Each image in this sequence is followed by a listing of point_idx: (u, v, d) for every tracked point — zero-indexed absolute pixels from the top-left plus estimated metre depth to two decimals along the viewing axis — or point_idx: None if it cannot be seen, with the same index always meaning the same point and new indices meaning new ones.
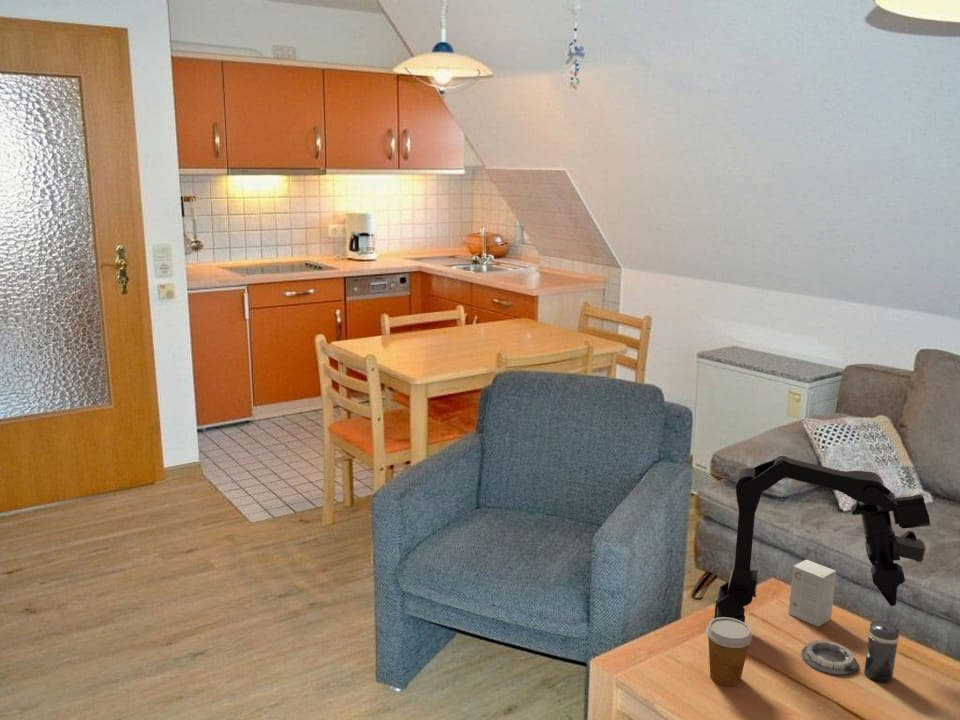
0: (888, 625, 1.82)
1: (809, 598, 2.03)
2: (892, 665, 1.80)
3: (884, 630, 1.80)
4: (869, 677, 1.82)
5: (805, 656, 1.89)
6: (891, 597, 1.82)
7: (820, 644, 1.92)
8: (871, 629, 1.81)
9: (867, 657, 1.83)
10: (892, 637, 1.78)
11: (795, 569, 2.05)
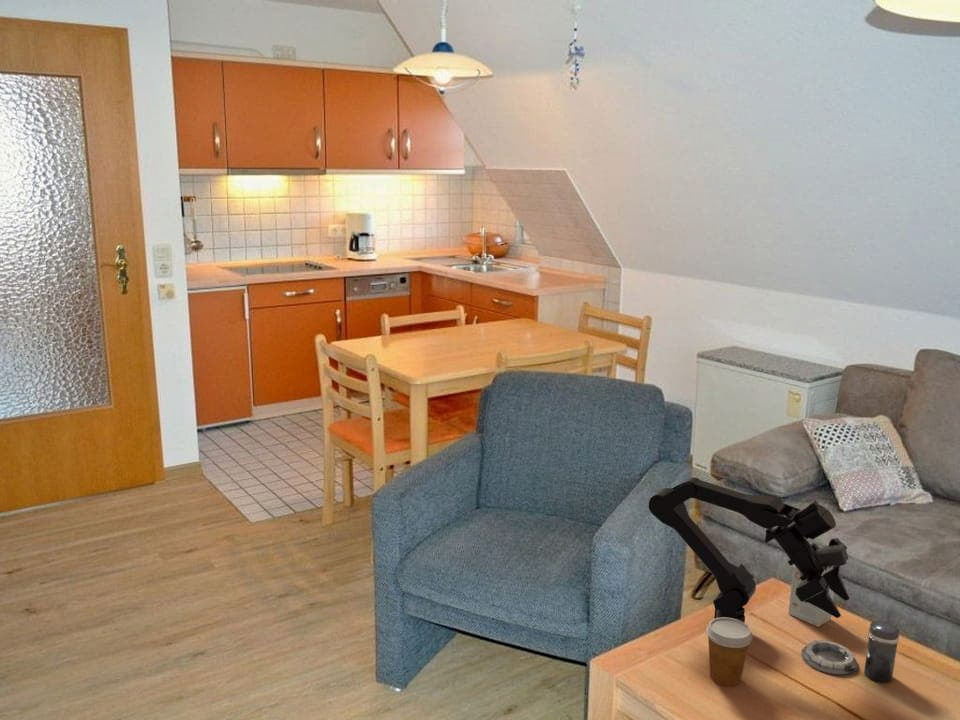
0: (888, 625, 1.82)
1: None
2: (892, 665, 1.80)
3: (884, 630, 1.80)
4: (869, 677, 1.82)
5: (805, 656, 1.89)
6: (831, 609, 1.81)
7: (820, 644, 1.92)
8: (871, 629, 1.81)
9: (867, 657, 1.83)
10: (892, 637, 1.78)
11: (795, 569, 2.05)
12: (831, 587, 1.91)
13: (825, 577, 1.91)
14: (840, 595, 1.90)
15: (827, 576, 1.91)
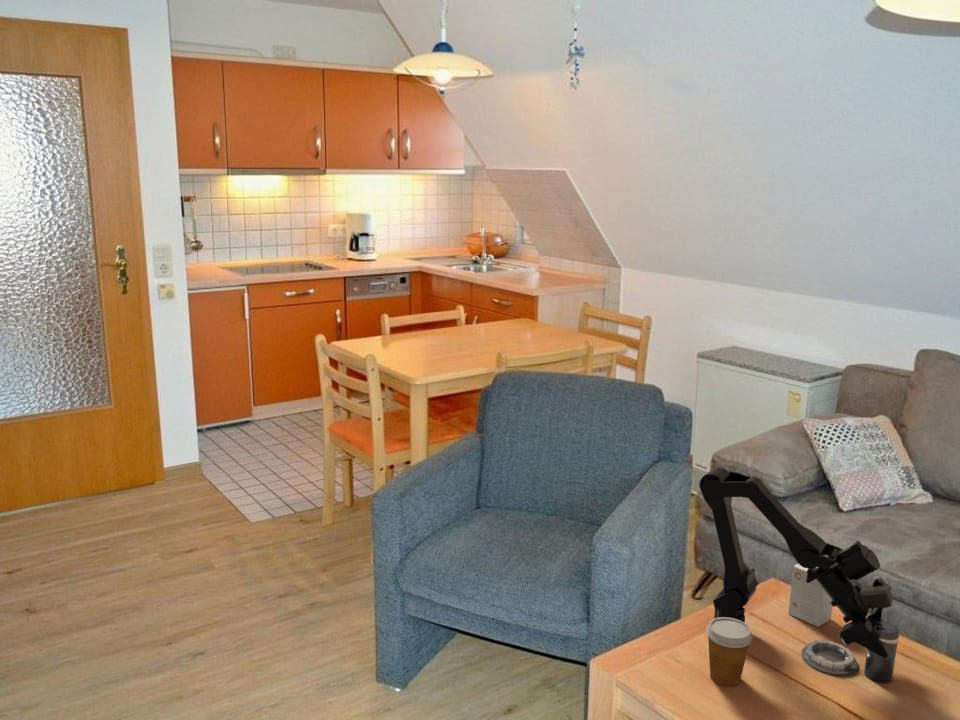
0: (888, 625, 1.82)
1: (809, 598, 2.03)
2: (892, 665, 1.80)
3: (884, 630, 1.80)
4: (869, 677, 1.82)
5: (805, 656, 1.89)
6: (878, 649, 1.79)
7: (820, 644, 1.92)
8: None
9: (867, 657, 1.83)
10: (892, 637, 1.78)
11: (795, 569, 2.05)
12: None
13: None
14: None
15: (870, 620, 1.86)
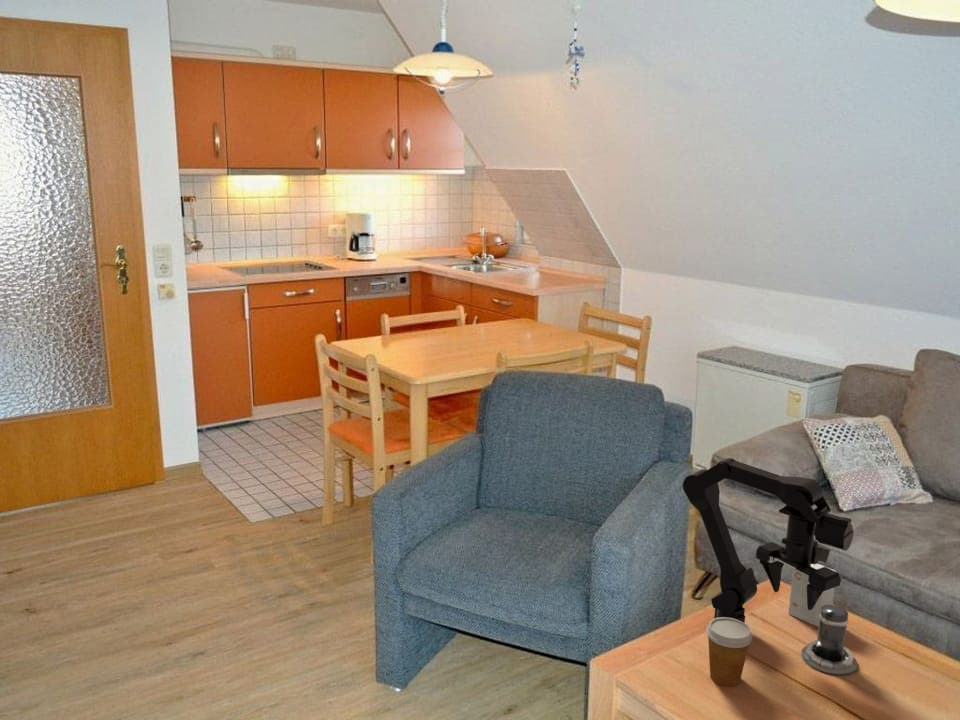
0: (838, 608, 1.87)
1: None
2: (841, 647, 1.86)
3: (833, 613, 1.85)
4: None
5: (805, 656, 1.89)
6: (814, 601, 1.84)
7: None
8: (821, 612, 1.86)
9: (818, 639, 1.88)
10: (841, 620, 1.84)
11: (795, 569, 2.05)
12: (772, 576, 1.91)
13: (774, 566, 1.91)
14: (775, 586, 1.92)
15: (775, 566, 1.91)
